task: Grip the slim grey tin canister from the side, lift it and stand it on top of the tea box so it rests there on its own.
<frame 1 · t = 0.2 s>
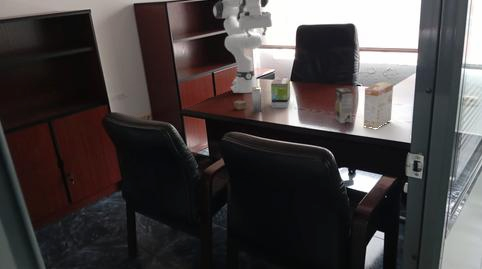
hand: (256, 36, 244), 39 cm above the table, tool pointing down, fingers open, 8 cm apart
tea box: (281, 104, 242), on the table
coffeecake box: (377, 124, 198), on the table
coffee box: (343, 120, 207), on the table
walnut coaster block: (240, 108, 239), on the table
tin canister: (257, 111, 231), on the table
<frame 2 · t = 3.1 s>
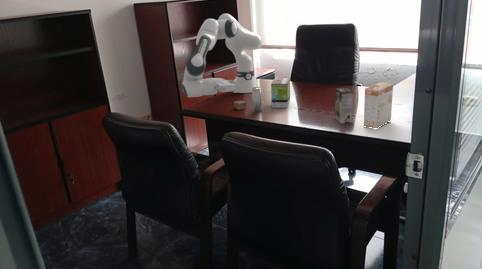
hand: (235, 83, 220), 19 cm above the table, tool horizontal, fingers open, 8 cm apart
nothing on the table moved.
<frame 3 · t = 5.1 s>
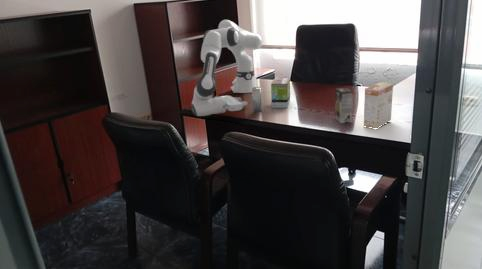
hand: (243, 100, 226), 8 cm above the table, tool horizontal, fingers open, 8 cm apart
nothing on the table moved.
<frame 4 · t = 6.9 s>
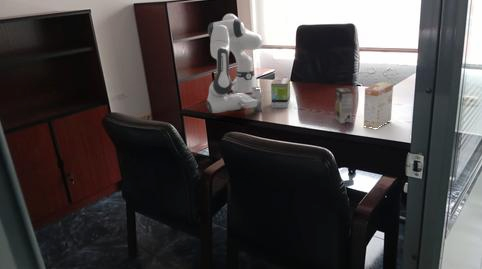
hand: (258, 98, 228), 8 cm above the table, tool horizontal, fingers closed on tin canister, 5 cm apart
tin canister: (257, 111, 231), on the table, touching gripper
everything else where it was.
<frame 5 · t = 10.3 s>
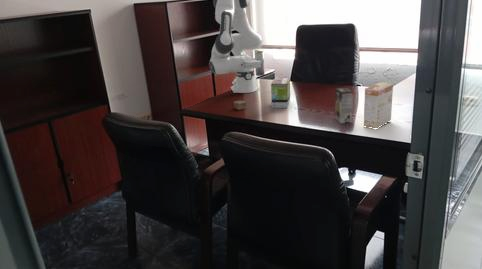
hand: (261, 60, 228), 28 cm above the table, tool horizontal, fingers closed on tin canister, 5 cm apart
tin canister: (260, 74, 231), point 20 cm above the table, touching gripper
everything else where it was.
when the fingers open (24 cm above the table, at t = 13.5 s): tin canister drops 1 cm, resting on tea box.
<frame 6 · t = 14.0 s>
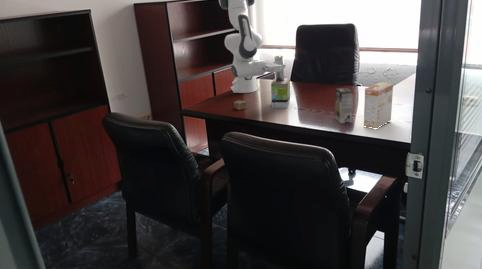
hand: (281, 64, 234), 24 cm above the table, tool horizontal, fingers open, 8 cm apart
tea box: (281, 104, 242), on the table, touching tin canister
tin canister: (280, 80, 237), point 15 cm above the table, touching tea box
everything else where it was.
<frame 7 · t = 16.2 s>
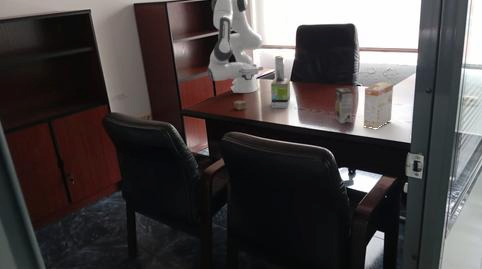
hand: (259, 67, 229), 24 cm above the table, tool horizontal, fingers open, 8 cm apart
nothing on the table moved.
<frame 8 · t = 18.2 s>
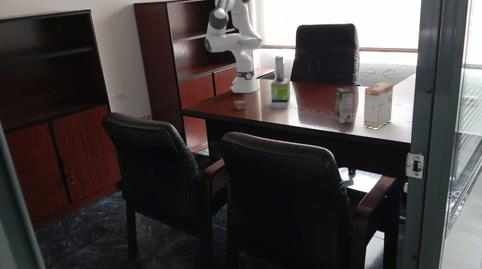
hand: (257, 39, 224), 40 cm above the table, tool horizontal, fingers open, 8 cm apart
nothing on the table moved.
at the end: tin canister inside the target area on the tea box (0.0 cm from its centre), point 15.0 cm above the tea box's base; tin canister tilted 0°; the gripper is holding nothing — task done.
